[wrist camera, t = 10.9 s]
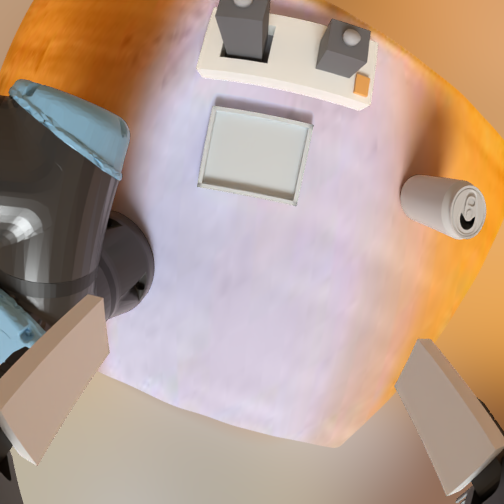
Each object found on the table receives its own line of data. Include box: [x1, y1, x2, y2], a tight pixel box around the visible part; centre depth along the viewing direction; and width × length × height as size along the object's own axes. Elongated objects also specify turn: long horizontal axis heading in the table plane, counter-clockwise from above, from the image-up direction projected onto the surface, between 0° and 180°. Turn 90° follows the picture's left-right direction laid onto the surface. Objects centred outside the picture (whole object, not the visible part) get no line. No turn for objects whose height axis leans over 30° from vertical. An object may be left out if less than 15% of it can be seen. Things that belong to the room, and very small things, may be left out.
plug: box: [215, 0, 270, 63], centre depth 22 cm, size 4×4×13 cm
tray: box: [197, 106, 314, 206], centre depth 33 cm, size 12×10×2 cm
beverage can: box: [400, 175, 486, 239], centre depth 29 cm, size 6×6×12 cm
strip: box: [196, 7, 378, 111], centre depth 24 cm, size 20×9×11 cm, turn 79°
